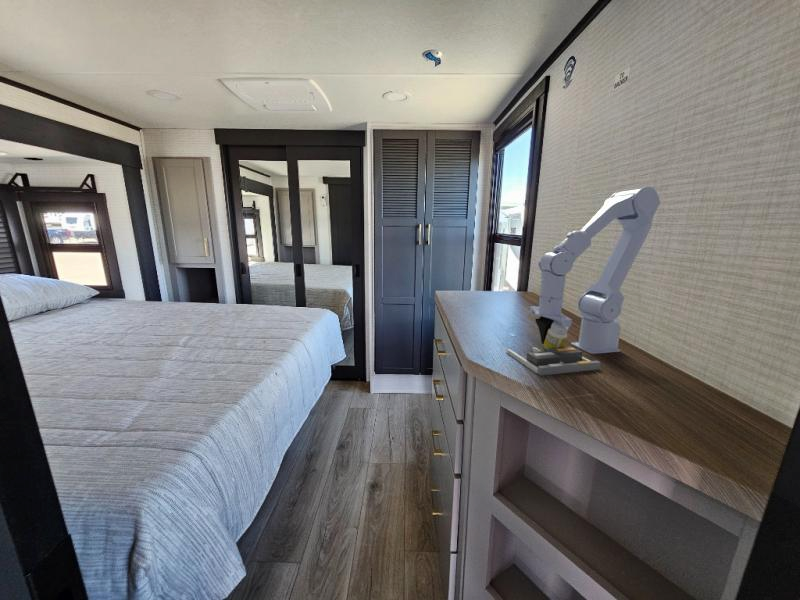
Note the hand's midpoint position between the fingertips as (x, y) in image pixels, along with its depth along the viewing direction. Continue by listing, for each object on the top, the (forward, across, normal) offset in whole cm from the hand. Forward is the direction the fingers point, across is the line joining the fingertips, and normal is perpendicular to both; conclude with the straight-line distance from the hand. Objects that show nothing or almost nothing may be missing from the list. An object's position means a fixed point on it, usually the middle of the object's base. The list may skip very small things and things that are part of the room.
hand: (545, 344), depth 86 cm
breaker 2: (+2, +8, 0) cm, 8 cm away
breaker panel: (+2, +7, -4) cm, 8 cm away
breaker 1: (+2, +9, -8) cm, 12 cm away
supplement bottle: (+1, +2, 0) cm, 3 cm away
